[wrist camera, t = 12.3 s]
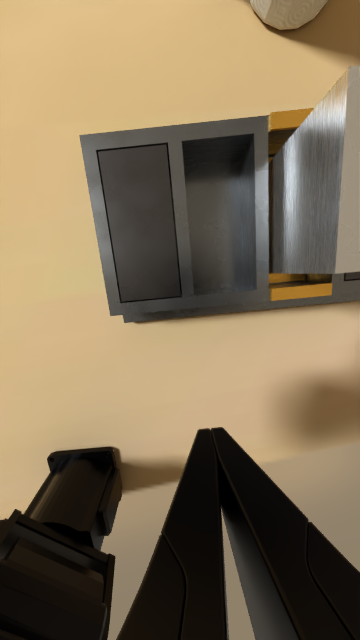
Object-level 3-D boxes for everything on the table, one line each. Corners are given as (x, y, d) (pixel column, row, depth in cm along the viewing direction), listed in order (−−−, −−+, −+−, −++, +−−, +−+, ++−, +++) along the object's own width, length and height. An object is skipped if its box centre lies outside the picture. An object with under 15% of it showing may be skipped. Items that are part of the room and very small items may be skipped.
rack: (126, 320, 18) (112, 333, 14) (100, 150, 16) (73, 107, 12) (364, 297, 18) (417, 304, 14) (381, 121, 15) (454, 67, 11)
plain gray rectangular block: (260, 273, 17) (335, 273, 9) (260, 173, 15) (349, 66, 7) (298, 269, 17) (407, 266, 9) (301, 169, 15) (436, 57, 7)
